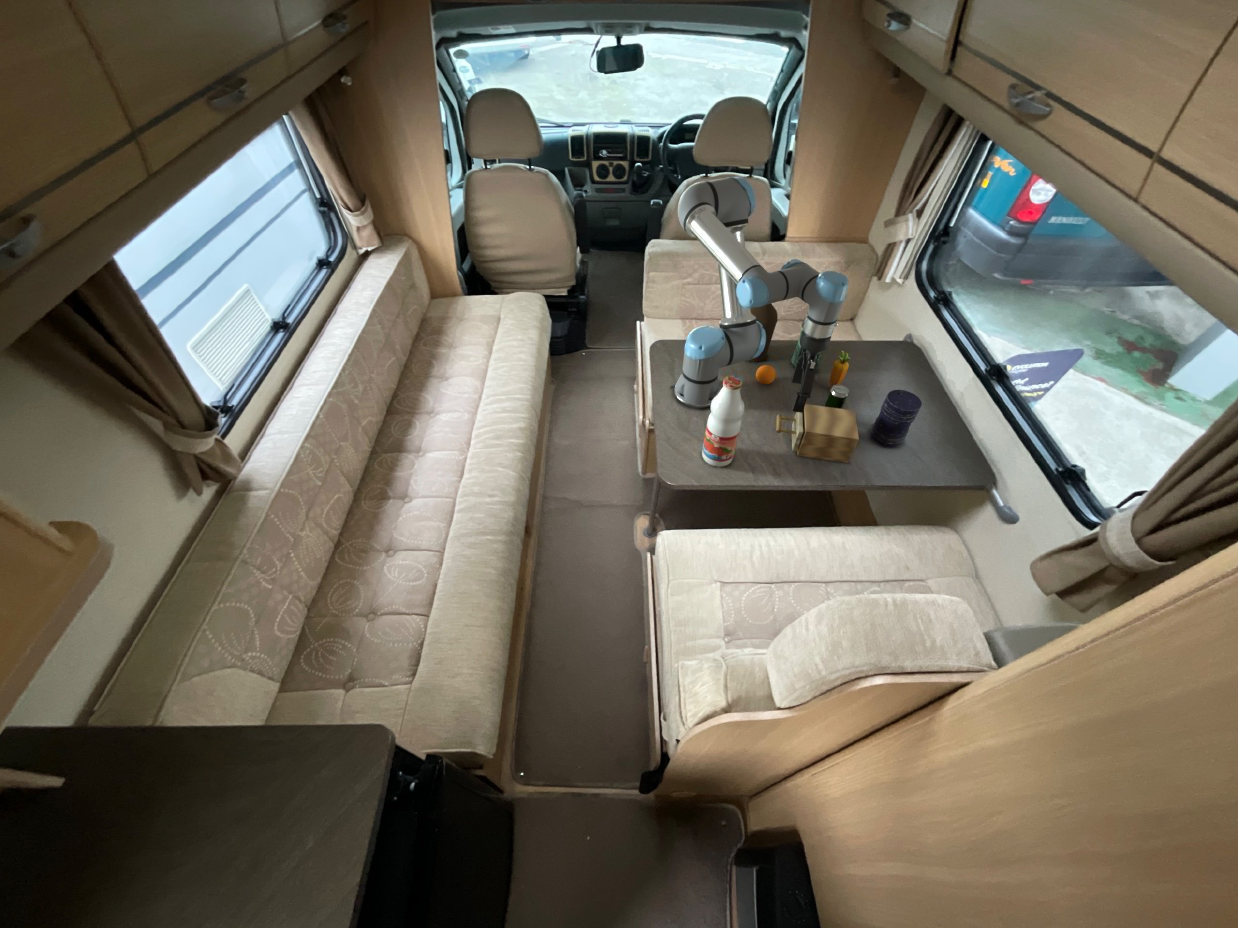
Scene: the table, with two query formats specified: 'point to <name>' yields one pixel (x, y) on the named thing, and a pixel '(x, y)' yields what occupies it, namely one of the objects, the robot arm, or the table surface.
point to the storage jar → (895, 418)
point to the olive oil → (765, 325)
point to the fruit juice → (724, 424)
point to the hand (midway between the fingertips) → (796, 396)
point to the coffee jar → (795, 355)
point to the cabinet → (828, 433)
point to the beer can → (837, 397)
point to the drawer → (793, 428)
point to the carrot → (839, 370)
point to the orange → (765, 374)
